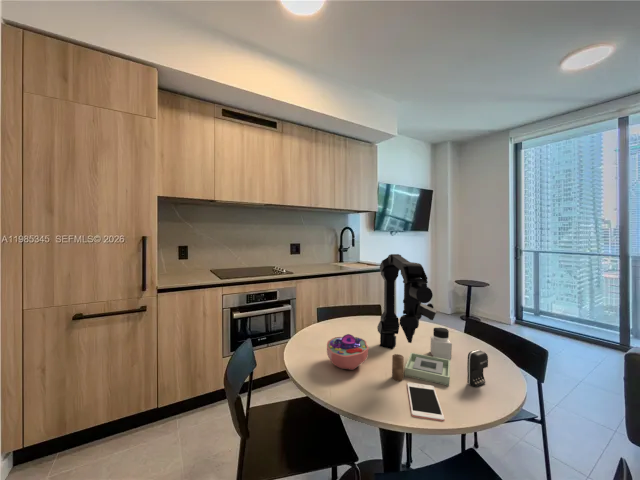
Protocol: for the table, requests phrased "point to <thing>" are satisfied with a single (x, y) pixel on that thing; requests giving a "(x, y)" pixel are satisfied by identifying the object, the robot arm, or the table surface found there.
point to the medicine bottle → (441, 343)
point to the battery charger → (476, 367)
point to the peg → (397, 367)
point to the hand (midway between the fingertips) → (411, 338)
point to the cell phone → (424, 402)
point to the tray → (427, 374)
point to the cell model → (347, 351)
